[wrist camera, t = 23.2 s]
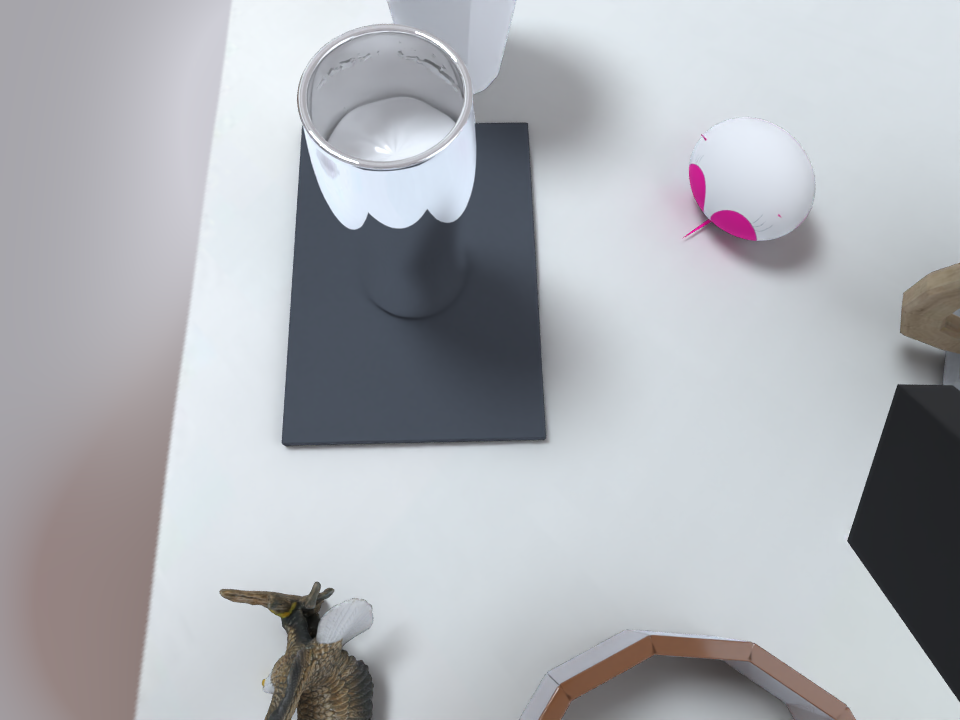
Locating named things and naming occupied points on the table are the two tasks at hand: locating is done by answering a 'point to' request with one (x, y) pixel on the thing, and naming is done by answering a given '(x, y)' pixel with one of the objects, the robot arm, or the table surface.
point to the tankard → (936, 316)
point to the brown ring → (808, 703)
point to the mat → (420, 325)
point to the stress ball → (751, 179)
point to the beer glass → (395, 159)
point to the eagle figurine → (316, 656)
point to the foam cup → (463, 30)
